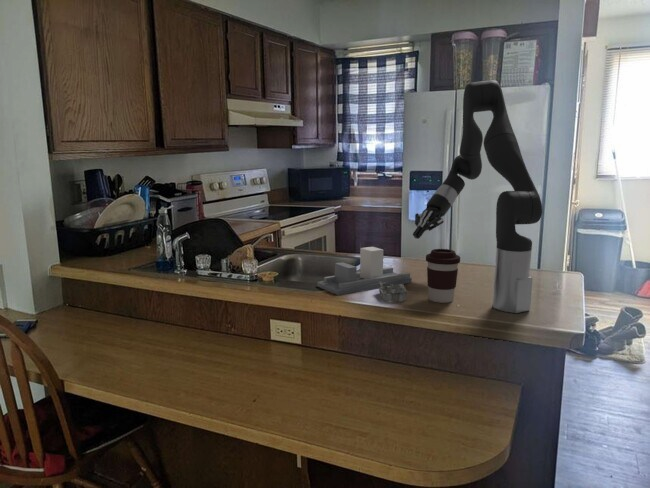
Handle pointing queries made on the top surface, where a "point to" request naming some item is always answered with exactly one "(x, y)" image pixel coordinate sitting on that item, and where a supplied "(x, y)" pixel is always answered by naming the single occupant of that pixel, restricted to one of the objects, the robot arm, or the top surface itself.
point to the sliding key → (371, 262)
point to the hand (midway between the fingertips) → (415, 237)
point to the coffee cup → (442, 274)
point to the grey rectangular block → (345, 272)
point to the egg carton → (392, 292)
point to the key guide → (364, 282)
